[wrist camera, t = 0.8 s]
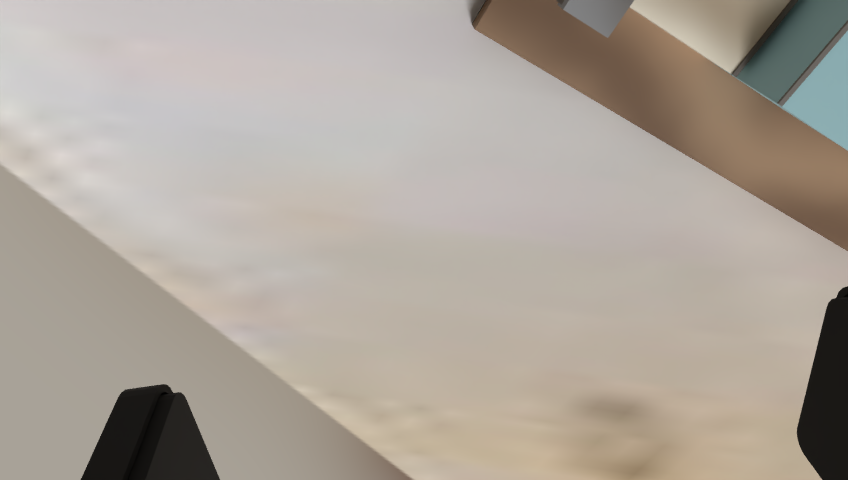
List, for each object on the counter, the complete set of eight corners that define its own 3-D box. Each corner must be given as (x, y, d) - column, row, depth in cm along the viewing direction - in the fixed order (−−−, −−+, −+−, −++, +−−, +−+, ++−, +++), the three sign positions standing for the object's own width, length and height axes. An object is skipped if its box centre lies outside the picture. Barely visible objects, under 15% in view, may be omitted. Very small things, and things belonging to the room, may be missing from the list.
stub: (785, -30, 31) (870, -4, 26) (855, 23, 33) (948, 57, 27) (712, 62, 33) (777, 104, 28) (782, 108, 35) (855, 155, 29)
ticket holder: (656, -288, 26) (712, -313, 22) (1049, 52, 35) (1143, 80, 31) (471, 24, 32) (487, 51, 28) (848, 248, 41) (904, 296, 37)
